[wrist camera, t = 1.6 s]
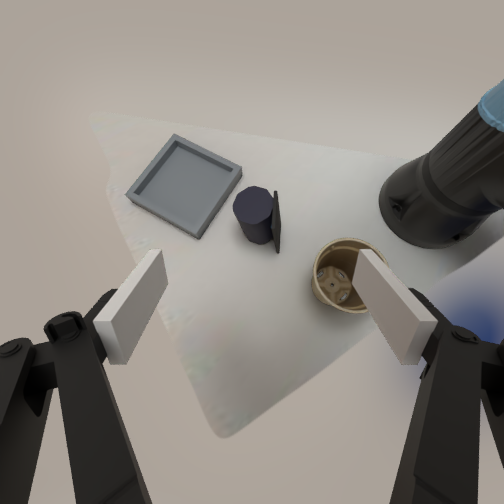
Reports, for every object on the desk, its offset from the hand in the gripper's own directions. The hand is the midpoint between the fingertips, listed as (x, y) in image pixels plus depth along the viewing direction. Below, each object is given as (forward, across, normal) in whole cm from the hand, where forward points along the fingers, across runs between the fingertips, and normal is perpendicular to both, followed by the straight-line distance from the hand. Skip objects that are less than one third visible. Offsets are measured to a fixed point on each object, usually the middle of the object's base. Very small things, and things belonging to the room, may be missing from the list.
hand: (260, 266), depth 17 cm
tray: (+29, -12, -2) cm, 32 cm away
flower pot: (+17, +12, -14) cm, 25 cm away
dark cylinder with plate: (+24, +1, -8) cm, 25 cm away
